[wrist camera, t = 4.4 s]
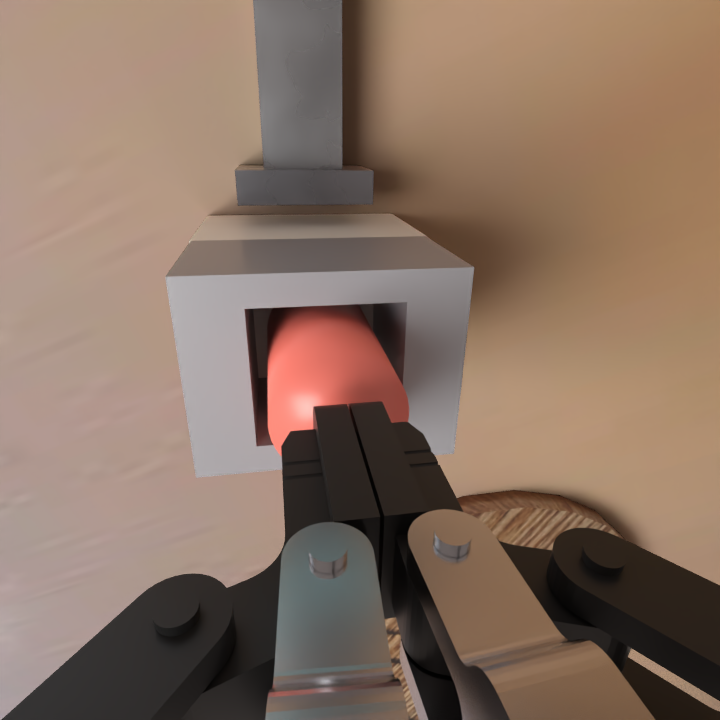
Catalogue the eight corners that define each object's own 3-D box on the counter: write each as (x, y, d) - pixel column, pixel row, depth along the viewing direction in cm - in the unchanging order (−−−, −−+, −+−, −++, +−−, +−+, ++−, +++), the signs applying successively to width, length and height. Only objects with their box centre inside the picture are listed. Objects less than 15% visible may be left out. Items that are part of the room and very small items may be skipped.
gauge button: (263, 284, 16) (262, 358, 11) (365, 280, 17) (413, 350, 11) (270, 377, 18) (271, 484, 12) (364, 370, 18) (405, 471, 13)
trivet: (458, 421, 28) (470, 440, 26) (691, 570, 37) (711, 590, 36) (222, 689, 34) (220, 718, 32) (475, 759, 43) (483, 784, 42)
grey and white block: (207, 215, 21) (163, 276, 12) (391, 213, 22) (475, 267, 13) (221, 346, 23) (194, 477, 14) (386, 337, 25) (455, 453, 16)
